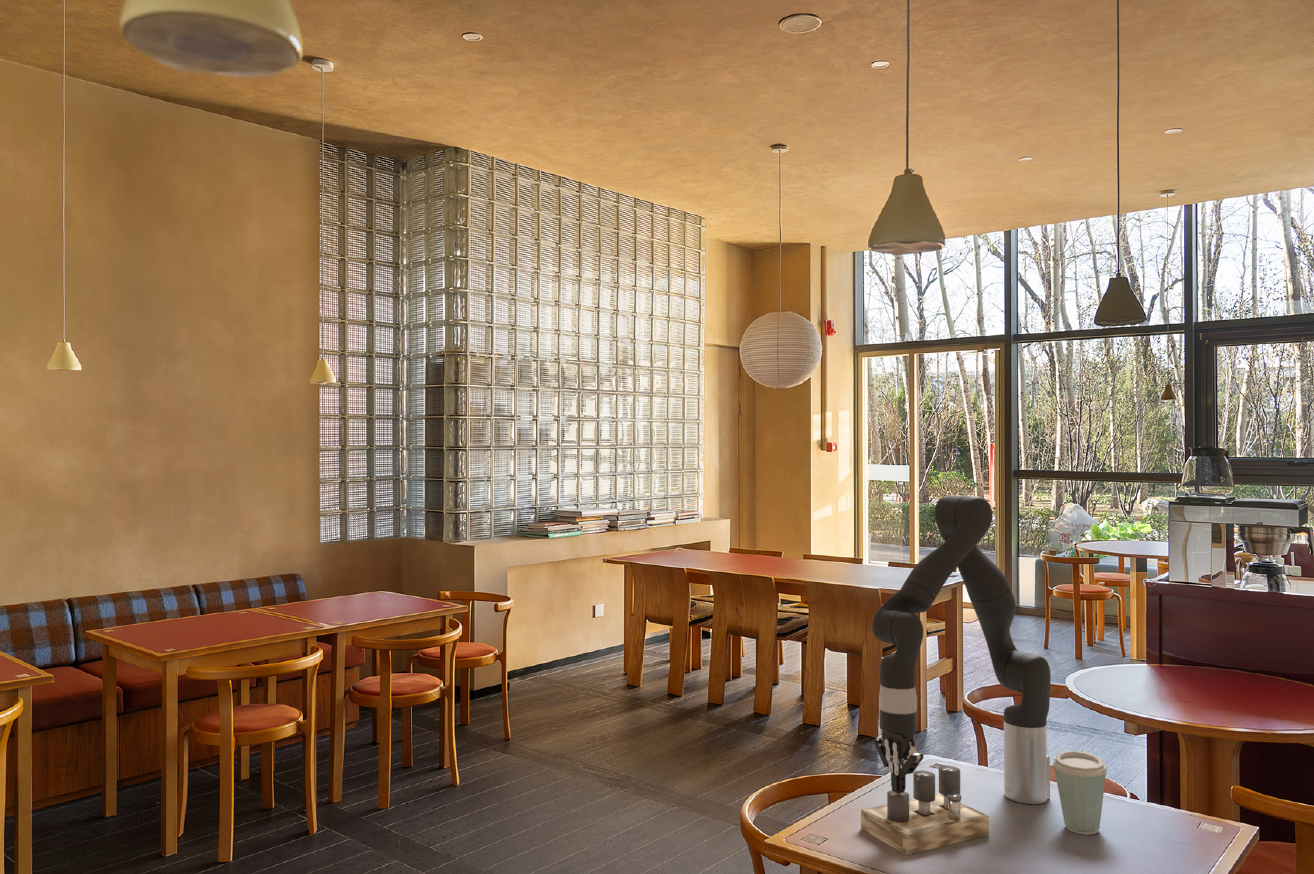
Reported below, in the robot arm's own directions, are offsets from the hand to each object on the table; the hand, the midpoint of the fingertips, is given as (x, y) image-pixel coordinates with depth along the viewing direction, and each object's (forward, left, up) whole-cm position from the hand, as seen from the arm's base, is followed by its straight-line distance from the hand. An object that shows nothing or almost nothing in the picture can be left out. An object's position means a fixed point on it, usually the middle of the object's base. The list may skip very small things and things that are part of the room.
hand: (898, 791), depth 186 cm
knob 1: (0, 0, -8) cm, 8 cm away
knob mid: (-7, 0, -5) cm, 9 cm away
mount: (-7, 0, -10) cm, 12 cm away
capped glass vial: (-10, +5, -6) cm, 13 cm away
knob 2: (-14, 0, -5) cm, 15 cm away
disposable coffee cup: (-38, +13, -10) cm, 41 cm away
